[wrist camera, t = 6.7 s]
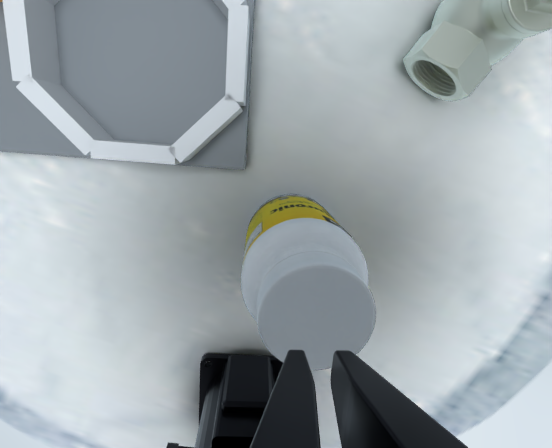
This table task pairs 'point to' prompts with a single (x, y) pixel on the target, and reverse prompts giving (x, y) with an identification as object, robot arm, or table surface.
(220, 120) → the octagon socket plate
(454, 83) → the valve
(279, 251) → the supplement bottle
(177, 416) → the table surface
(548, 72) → the table surface
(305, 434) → the robot arm
